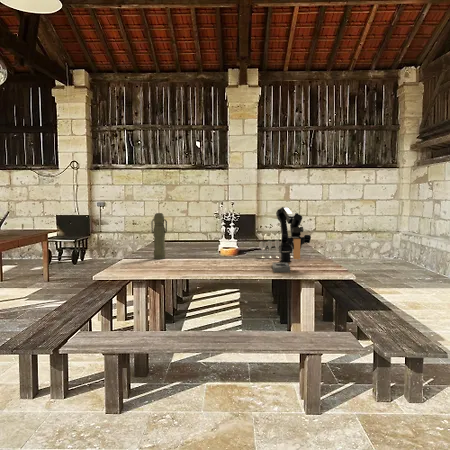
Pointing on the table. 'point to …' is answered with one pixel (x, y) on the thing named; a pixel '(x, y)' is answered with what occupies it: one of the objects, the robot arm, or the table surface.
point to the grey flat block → (280, 267)
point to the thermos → (159, 236)
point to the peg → (296, 249)
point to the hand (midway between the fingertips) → (297, 248)
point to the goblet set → (263, 246)
